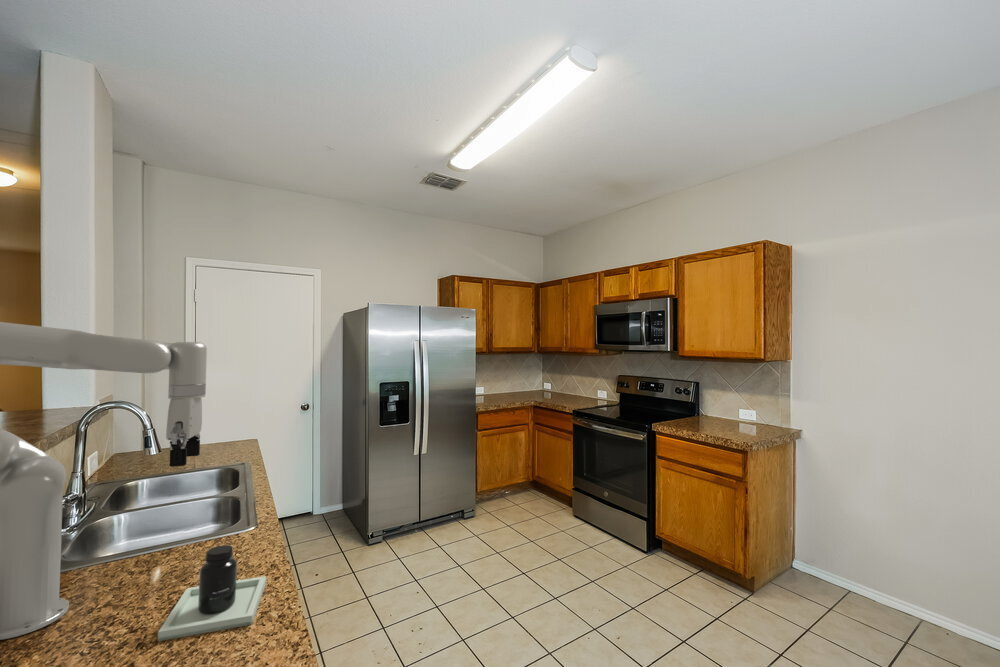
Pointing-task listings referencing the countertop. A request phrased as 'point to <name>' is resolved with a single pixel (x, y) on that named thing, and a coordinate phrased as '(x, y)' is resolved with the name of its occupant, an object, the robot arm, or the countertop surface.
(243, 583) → the sage tray
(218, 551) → the supplement bottle
